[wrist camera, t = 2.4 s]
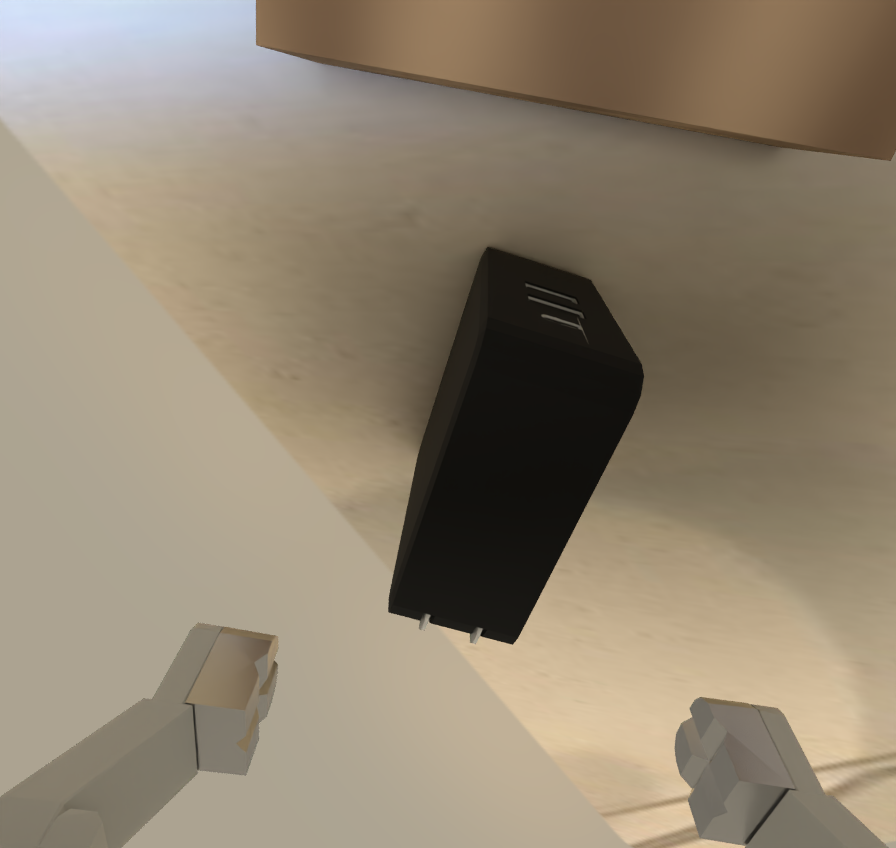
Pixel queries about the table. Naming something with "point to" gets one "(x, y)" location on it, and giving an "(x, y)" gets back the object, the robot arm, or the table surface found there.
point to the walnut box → (632, 59)
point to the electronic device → (512, 447)
